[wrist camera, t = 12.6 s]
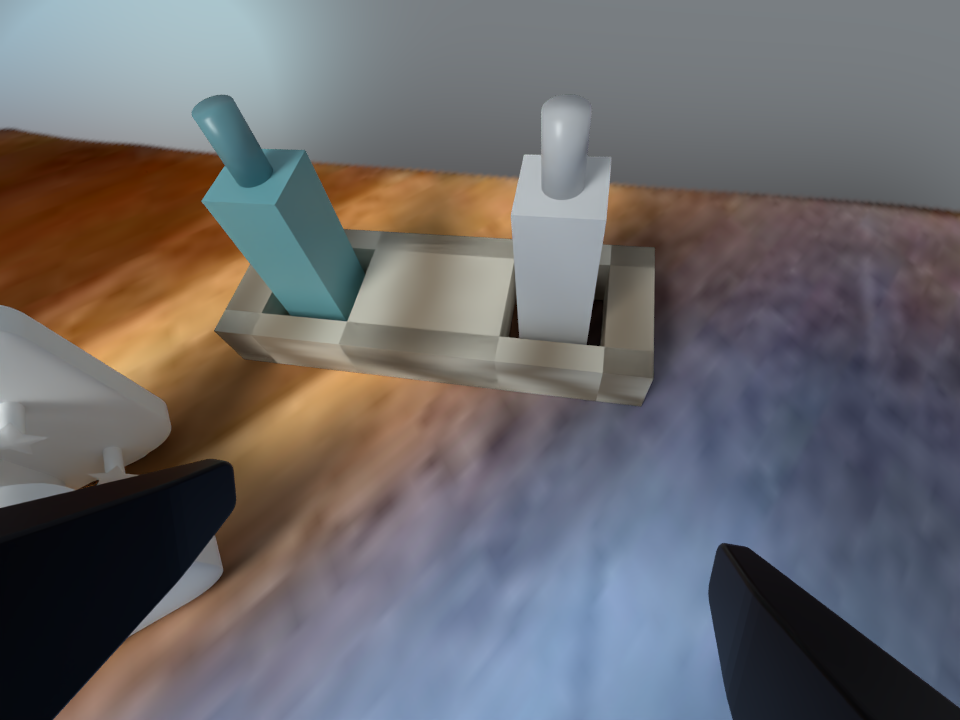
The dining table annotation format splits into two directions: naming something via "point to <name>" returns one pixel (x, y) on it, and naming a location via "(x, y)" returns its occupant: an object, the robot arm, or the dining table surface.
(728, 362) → the dining table surface
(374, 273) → the slot rack
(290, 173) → the teal plug
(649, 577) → the dining table surface
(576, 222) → the grey plug
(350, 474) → the dining table surface
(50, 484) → the cable organizer
